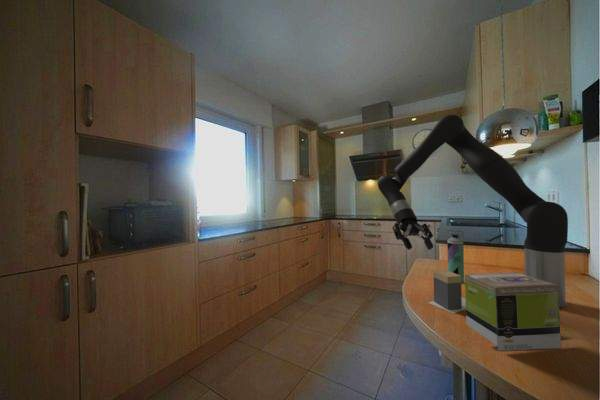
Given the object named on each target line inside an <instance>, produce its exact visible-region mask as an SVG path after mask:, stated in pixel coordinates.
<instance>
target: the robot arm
mask: <svg viewBox="0 0 600 400" xmlns="http://www.w3.org/2000/svg"><path fill="white" fill-rule="evenodd" d="M444 144H447V145H448V146H449V147H451V149H453V150H454V151H456V152H457V153H458V154H459V155H460V157H461V158H463V160H464V162H465V163H466V165H468V166H469V167H470V169H471V170H472V172H474V173H475V174H476V175H477V177H479V178H480V179H481V180H482V181H483V182H484V183H486V184H487V185H488V186H489V187H490V188H491V189H492V190H493V191H495V192H496V193H497V194H498V195H499V196H501V197H503V199H505V200H506V201H507V202H508V203H509V205H511V207H512V208H513V209H514V210H515V211H516V213H517V214H518V216H520V218H521V219H522V221H524V222H525V224H526V236H525V239H524V242H523V243H524V245H523V247H524V248H523V249H524V275H526V276H529V277H533V278H536V279H539V280H543V281H546V282H549V283H553V284H556V285H558V296H559V309H560V308H561V309H562V308H566V304H567V303H566V245H567V242H568V234H569V233H568V231H569V230H568V229H569V227H568V226H569V217H568V212H567V211H566V209H565V208H564V207H563V206H562V205H560V204H559V203H556V202H553V201H546V199H544V198H542V197H541V196H539V195H538V194H537V193H535V192H534V191H533V190H532V189H531V188H530V187H528V185H527V184H526V183H525V181H524V180H523V179H522V177H521V176H520V174H519V172H518V171H517V170H516V169H515V168H514V166H513V165H512V164H510V162H508V160H507V159H506V158H504V157H503V156H502V155H501V154H500V153H498V152H496V151H495V150H494V149H492V148H491V147H489V146H487V145H486V144H485V143H482V142H481V141H480V140H478V139H477V138H476V137H474V136H473V134H471V132H470V131H469V130H468V129H467V128H466V126H465V124H464V120H463V119H462V118H461V117H460V116H459V115H457V114H448V115H445V116H443V117H442V118H440V119H439V120H438V122H437V123H436V124H435V126H433V128H432V129H431V131H429V133H428V135H426V137H425V138H424V139H423V140H422V141H421V142H420V143H419V145H417V146H416V148H414V150H413V151H411V153H409V154H408V155H407V156H406V157H405V158H404V159H403V160H402V161H401V162H400V163H399V164H398V165H397V166H396V167H395V168H394V172H395V174H396V175H395V176H394V177H392V175H391V176H390V175H388V174H384V175H381V176H380V177H378V180H377V188H378V189H379V191H380V193H381V194H382V196H384V198H385V199H386V201H387V204H388V206H389V207H390V210H391V213H392V216H393V217H394V221H395V223H394V224H393V225H392V227H391V229H392V231H393V233H394V235H395V238H396V240H397V241H399V240H401V242H403V244H404V245H403V246H405V248H406V249H407V250H408V251H410V250H411V249H412V248H413V245H412V242H411V240H410V238H408V237H410V236H413V237H417V238H418V239H419V238H420V239H421V240H422V241H423V242H424V244H425V246H426V248H427V250H432V249H433V248H434V244H433V242H432V241H431V239H432V238H433V237H434V234H433V233H432V231H431V229H430V228H429V226H428V225H427V223H423V224H420V223H418V217H417V216H416V214H415V212H414V210H413V209H412V207H411V205H410V204H409V202H408V201H407V199H406V197H405V195H404V193H402V191H401V189H402V188H403V187H404V185H405V184H406V182H407V180H408V179H409V178H410V177H411V176H412V175H413V174H415V173H416V172H417V171H418V170H419V169H420V168H422V166H423V165H424V164H425V162H426V161H427V160H428V159H429V158H430V157H431V155H433V154H434V153H435V152H436V151H437V150H438V149H439V148H440V147H441V146H442V145H444Z"/></svg>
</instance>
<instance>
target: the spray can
mask: <svg viewBox="0 0 600 400" xmlns="http://www.w3.org/2000/svg"><path fill="white" fill-rule="evenodd" d="M446 246H447V248H446V249H447V271H450V272H453V273H455V274H458V275H460V276H461V284H463V285H465V267H464V265H465V262H464V261H465V259H464V257H465V255H464V254H465V253H464V240H463V239H461V238H460V237H459V236H458V233H452V236H451V237H449V238H448V239H447V245H446Z"/></svg>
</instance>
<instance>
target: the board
mask: <svg viewBox="0 0 600 400" xmlns="http://www.w3.org/2000/svg"><path fill="white" fill-rule="evenodd" d="M461 297H462V309H457V310H447V309H445V308H444V307H442V306H440V305H439V304H437V303H436V302H434V300H432V301H429V302H427V304H430V305H433V306H435V307H437V308H439V309H442V310H445V311H447V312H450V313H452V314H456V313H459V312H462V311H464V310H466V297H463V296H461Z"/></svg>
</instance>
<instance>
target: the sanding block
mask: <svg viewBox="0 0 600 400" xmlns="http://www.w3.org/2000/svg"><path fill="white" fill-rule="evenodd" d="M462 297H463V296H462V283H461V276H460V275H458V274H455V273H453V272H450V271H448V269H443V270H442V269H441V270H440V269H439V270H433V301H434V302H436V303H437V304H439V305H440V306H442V307H444V308H445V309H447V310H457V309H462ZM447 310H446V311H447Z"/></svg>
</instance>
